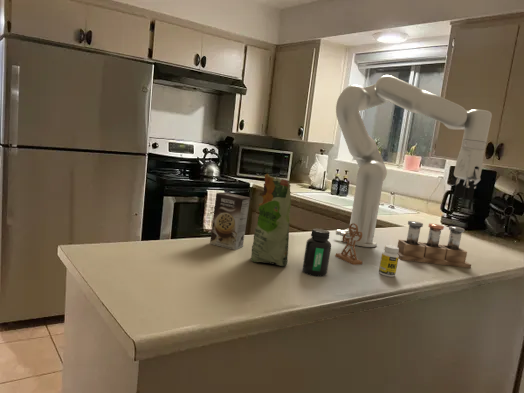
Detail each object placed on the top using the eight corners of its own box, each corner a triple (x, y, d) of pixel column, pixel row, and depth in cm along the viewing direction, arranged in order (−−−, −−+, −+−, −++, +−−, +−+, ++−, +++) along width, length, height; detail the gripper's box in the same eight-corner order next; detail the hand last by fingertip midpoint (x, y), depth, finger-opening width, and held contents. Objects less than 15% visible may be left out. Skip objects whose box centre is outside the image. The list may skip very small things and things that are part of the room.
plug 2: (448, 250, 153) (453, 228, 152) (442, 247, 158) (446, 225, 157) (462, 252, 154) (467, 230, 153) (455, 248, 159) (460, 227, 158)
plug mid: (428, 248, 153) (432, 225, 152) (422, 244, 158) (426, 222, 157) (442, 249, 153) (446, 227, 152) (435, 246, 158) (440, 224, 157)
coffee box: (208, 244, 136) (215, 193, 134) (218, 240, 142) (224, 191, 140) (235, 250, 133) (242, 198, 131) (244, 246, 139) (250, 196, 137)
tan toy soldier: (334, 256, 143) (340, 220, 141) (343, 255, 145) (349, 220, 143) (352, 264, 136) (359, 226, 134) (362, 264, 138) (368, 227, 136)
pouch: (280, 271, 119) (294, 179, 115) (240, 261, 122) (252, 172, 119) (292, 262, 129) (304, 178, 126) (254, 253, 133) (265, 171, 129)
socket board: (400, 259, 150) (403, 244, 150) (390, 251, 160) (393, 237, 160) (470, 268, 152) (473, 253, 151) (456, 259, 162) (459, 246, 161)
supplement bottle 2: (386, 277, 127) (391, 249, 126) (375, 271, 131) (380, 244, 130) (398, 276, 129) (403, 249, 128) (387, 271, 133) (392, 244, 132)
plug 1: (407, 245, 152) (411, 223, 151) (402, 242, 157) (406, 220, 156) (421, 247, 153) (425, 224, 152) (415, 243, 158) (419, 222, 157)
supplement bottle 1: (320, 278, 117) (327, 234, 115) (297, 271, 121) (304, 229, 119) (330, 273, 123) (337, 232, 121) (308, 267, 126) (315, 226, 125)
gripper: (451, 144, 159) (441, 193, 162) (475, 145, 142) (464, 200, 145) (470, 147, 160) (461, 195, 162) (498, 148, 143) (486, 203, 145)
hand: (462, 197), depth 154 cm, fingers open, 5 cm apart
